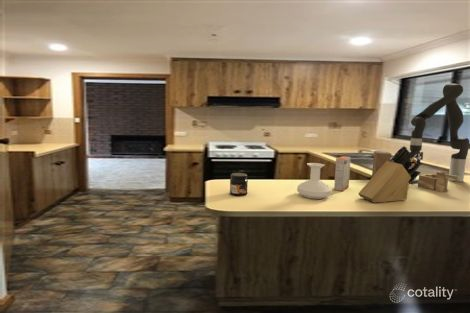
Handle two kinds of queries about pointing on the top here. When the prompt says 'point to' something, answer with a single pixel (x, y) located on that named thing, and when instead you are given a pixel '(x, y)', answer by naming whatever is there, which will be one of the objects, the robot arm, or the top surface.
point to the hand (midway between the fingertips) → (413, 165)
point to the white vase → (314, 184)
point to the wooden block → (380, 160)
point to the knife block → (392, 179)
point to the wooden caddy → (434, 181)
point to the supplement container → (238, 184)
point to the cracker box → (342, 173)
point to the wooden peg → (451, 176)
